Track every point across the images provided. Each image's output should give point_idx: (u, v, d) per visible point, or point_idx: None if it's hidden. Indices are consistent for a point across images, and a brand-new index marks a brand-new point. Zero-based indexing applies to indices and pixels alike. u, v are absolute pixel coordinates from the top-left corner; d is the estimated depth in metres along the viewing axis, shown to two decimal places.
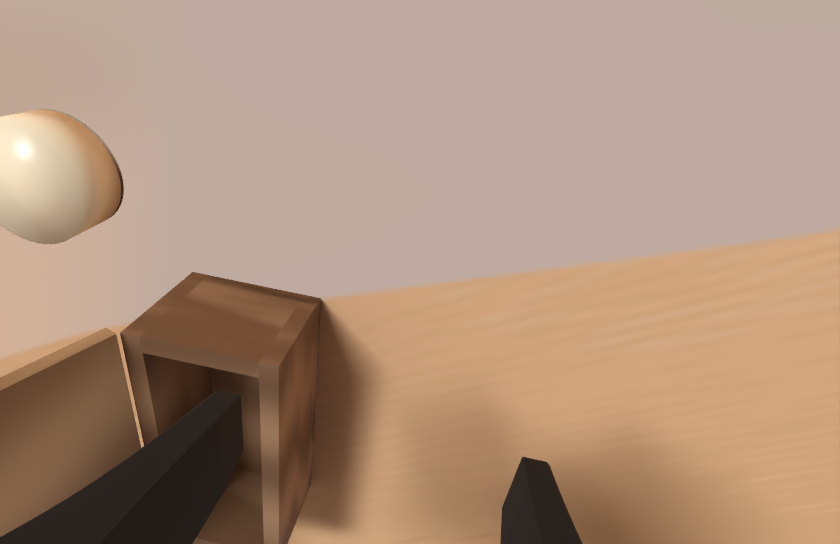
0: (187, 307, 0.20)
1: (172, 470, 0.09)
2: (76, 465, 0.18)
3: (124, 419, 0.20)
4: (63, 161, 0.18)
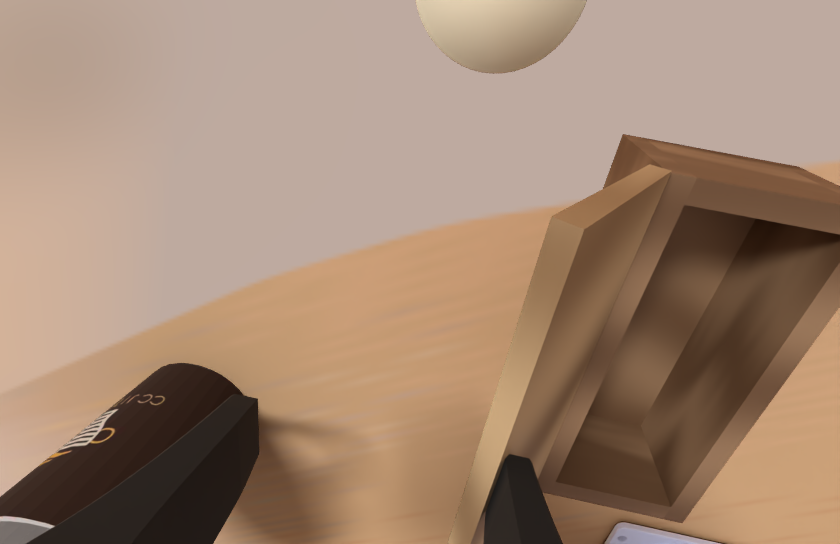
0: (685, 159, 0.15)
1: (193, 475, 0.09)
2: (579, 354, 0.13)
3: (610, 307, 0.14)
4: None
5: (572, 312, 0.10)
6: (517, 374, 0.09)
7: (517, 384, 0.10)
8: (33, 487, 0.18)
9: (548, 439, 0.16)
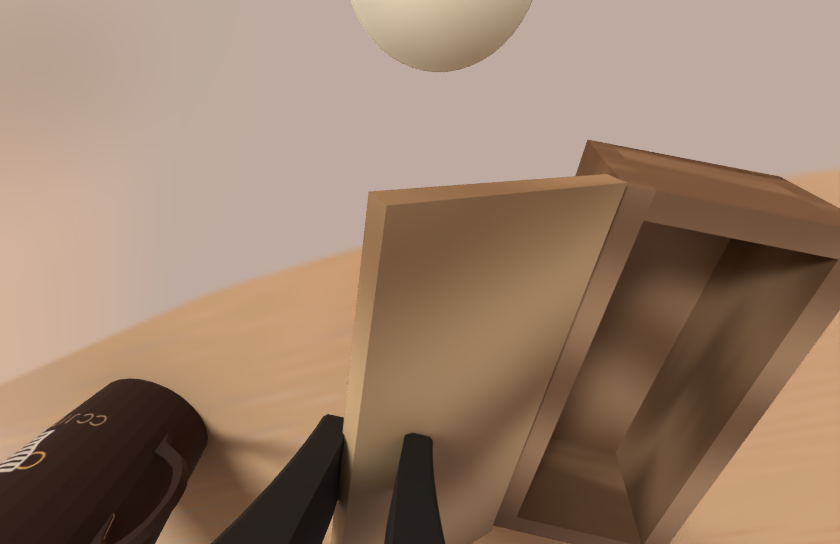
0: (650, 168, 0.13)
1: (310, 501, 0.09)
2: (500, 371, 0.12)
3: (561, 331, 0.13)
4: None
5: (432, 307, 0.09)
6: (359, 359, 0.09)
7: (359, 370, 0.09)
8: None
9: (489, 466, 0.15)
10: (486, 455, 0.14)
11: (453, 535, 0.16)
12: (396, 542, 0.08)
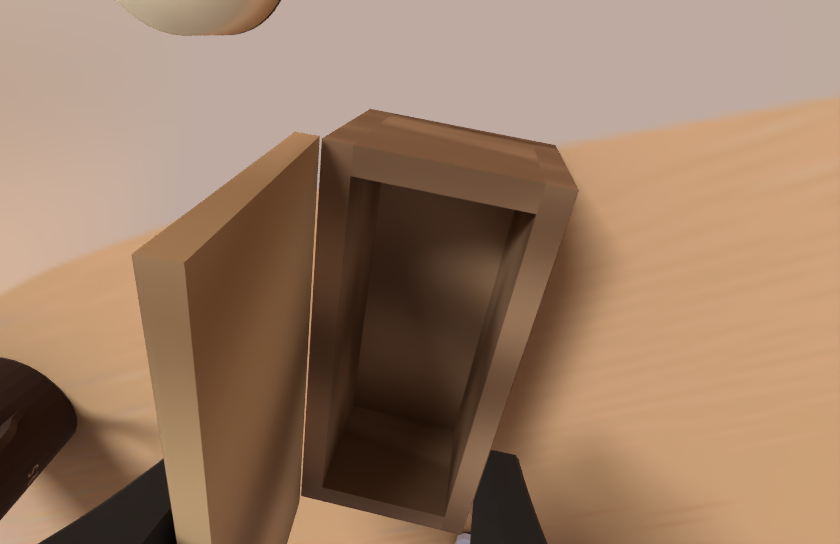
0: (393, 131, 0.13)
1: None
2: (285, 362, 0.11)
3: (307, 294, 0.13)
4: None
5: (237, 346, 0.08)
6: (185, 457, 0.07)
7: (190, 468, 0.07)
8: None
9: (291, 451, 0.14)
10: (288, 444, 0.14)
11: (282, 534, 0.15)
12: None
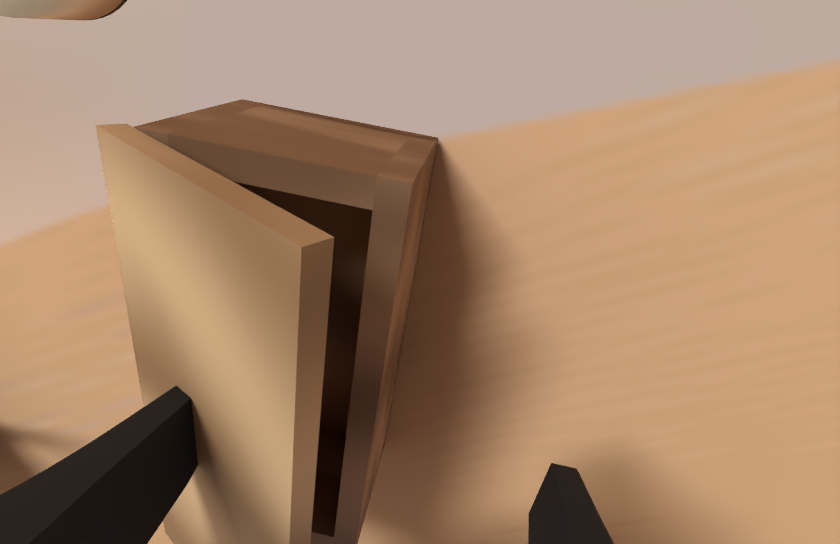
0: (241, 121, 0.12)
1: (127, 459, 0.09)
2: None
3: None
4: None
5: None
6: (309, 413, 0.08)
7: (311, 420, 0.08)
8: None
9: None
10: None
11: None
12: None
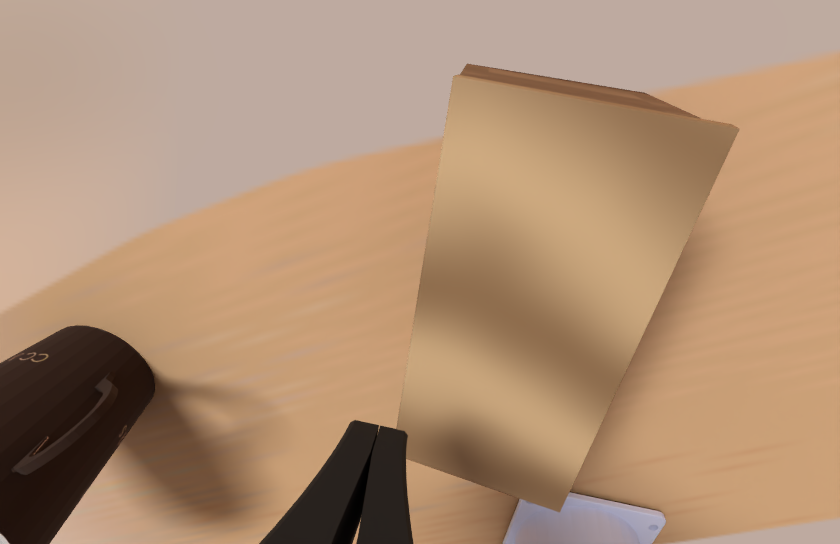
0: (505, 77, 0.14)
1: None
2: None
3: None
4: None
5: None
6: None
7: None
8: None
9: None
10: None
11: None
12: (362, 534, 0.08)
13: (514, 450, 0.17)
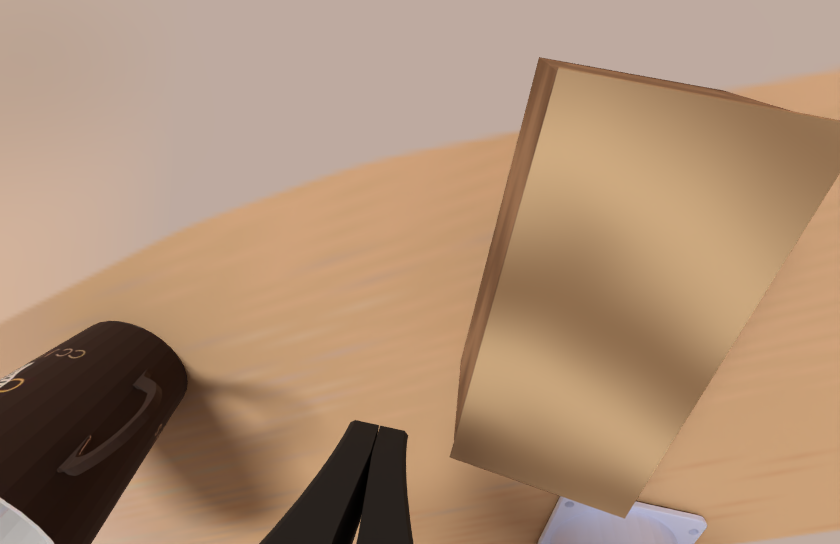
0: (591, 71, 0.14)
1: None
2: None
3: None
4: None
5: None
6: None
7: None
8: None
9: None
10: None
11: None
12: (362, 534, 0.08)
13: (582, 455, 0.16)
